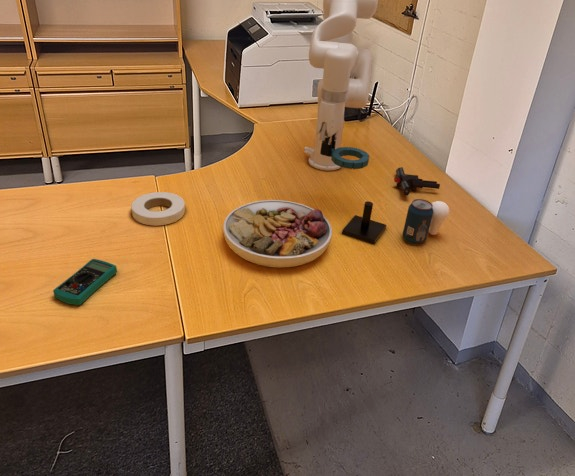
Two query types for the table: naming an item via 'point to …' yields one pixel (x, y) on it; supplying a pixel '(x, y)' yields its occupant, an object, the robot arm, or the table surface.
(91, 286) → the digital multimeter
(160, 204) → the tape roll
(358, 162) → the ring
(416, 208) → the soda can
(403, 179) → the black plastic t-shaped piece
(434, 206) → the lightbulb
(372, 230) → the ring stand
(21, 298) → the table surface
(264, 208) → the bowl
